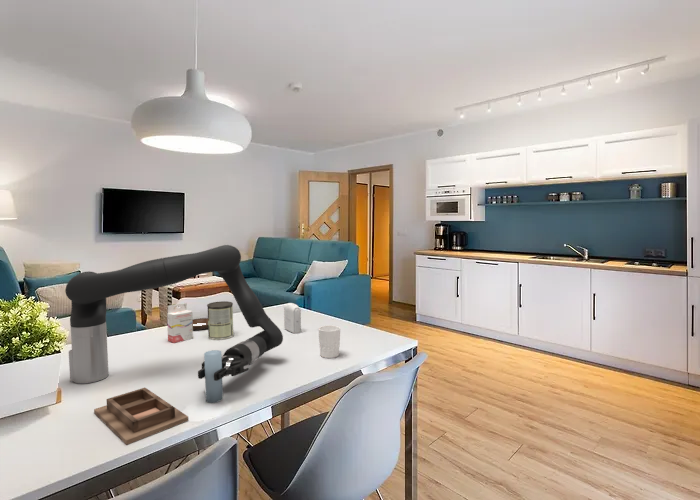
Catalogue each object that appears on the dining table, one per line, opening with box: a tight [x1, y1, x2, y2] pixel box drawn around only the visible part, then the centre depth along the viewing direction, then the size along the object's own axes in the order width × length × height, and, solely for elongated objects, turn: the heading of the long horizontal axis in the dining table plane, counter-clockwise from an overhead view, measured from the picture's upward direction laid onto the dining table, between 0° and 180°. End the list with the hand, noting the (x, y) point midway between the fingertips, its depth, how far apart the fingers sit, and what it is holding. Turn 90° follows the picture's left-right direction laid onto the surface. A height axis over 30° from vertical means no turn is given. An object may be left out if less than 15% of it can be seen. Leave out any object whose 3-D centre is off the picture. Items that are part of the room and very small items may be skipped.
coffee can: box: [206, 300, 234, 341], centre depth 167 cm, size 10×10×14 cm
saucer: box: [192, 317, 208, 331], centre depth 183 cm, size 15×15×3 cm
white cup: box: [318, 324, 341, 359], centre depth 143 cm, size 8×8×10 cm
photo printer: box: [283, 302, 302, 334], centre depth 176 cm, size 10×4×12 cm, turn 36°
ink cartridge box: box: [166, 302, 194, 344], centre depth 163 cm, size 9×5×15 cm, turn 141°
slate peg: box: [203, 349, 224, 404], centre depth 108 cm, size 4×4×13 cm
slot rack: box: [93, 387, 190, 446], centre depth 99 cm, size 22×14×4 cm, turn 49°
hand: (207, 376), depth 105 cm, fingers closed on slate peg, 4 cm apart
